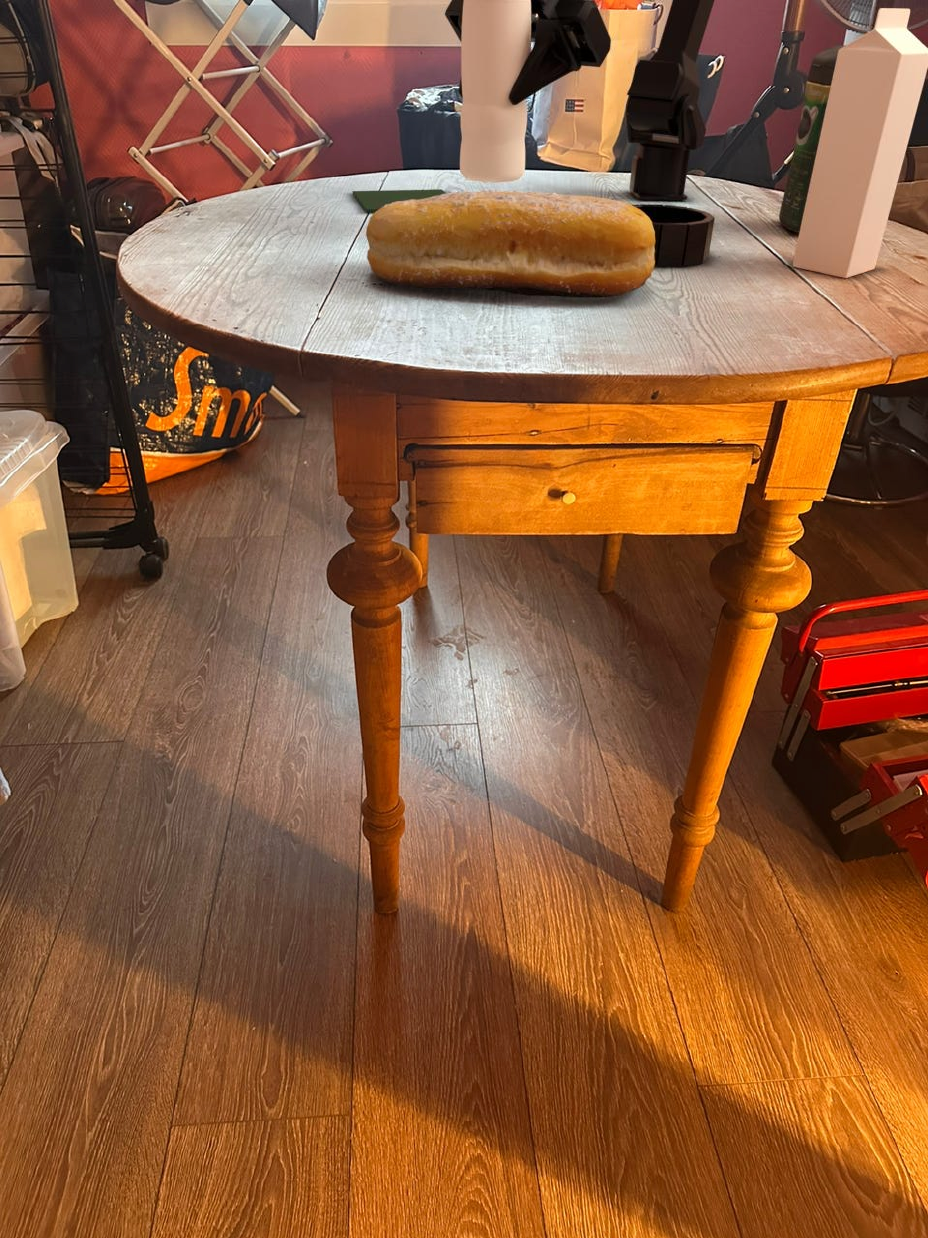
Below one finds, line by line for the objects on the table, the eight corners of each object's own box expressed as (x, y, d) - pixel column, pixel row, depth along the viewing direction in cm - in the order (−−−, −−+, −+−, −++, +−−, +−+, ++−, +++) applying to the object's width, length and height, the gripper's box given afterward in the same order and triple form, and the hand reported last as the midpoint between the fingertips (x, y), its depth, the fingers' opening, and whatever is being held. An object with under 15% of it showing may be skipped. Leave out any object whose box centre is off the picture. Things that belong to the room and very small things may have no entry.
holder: (691, 243, 101) (698, 204, 99) (719, 267, 93) (726, 224, 90) (600, 243, 100) (604, 203, 98) (619, 266, 92) (624, 223, 90)
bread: (656, 311, 79) (670, 212, 75) (353, 296, 81) (348, 198, 76) (647, 272, 90) (658, 183, 86) (380, 260, 92) (377, 172, 87)
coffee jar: (861, 240, 105) (910, 48, 94) (791, 237, 105) (832, 45, 94) (835, 222, 113) (877, 43, 102) (770, 220, 113) (806, 41, 102)
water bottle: (493, 186, 96) (503, -120, 82) (446, 176, 100) (447, -117, 86) (537, 177, 100) (553, -115, 86) (490, 168, 104) (498, -113, 90)
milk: (874, 269, 93) (945, 9, 81) (845, 279, 90) (914, 8, 77) (820, 257, 97) (880, 7, 85) (790, 266, 94) (847, 6, 81)
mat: (441, 192, 123) (441, 189, 123) (462, 210, 113) (463, 206, 113) (352, 194, 121) (352, 190, 120) (366, 212, 111) (366, 209, 111)
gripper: (457, -101, 94) (382, 30, 94) (606, -108, 84) (521, 40, 83) (505, -7, 103) (436, 112, 103) (644, -3, 93) (568, 130, 93)
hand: (485, 98), depth 95 cm, fingers closed on water bottle, 7 cm apart
